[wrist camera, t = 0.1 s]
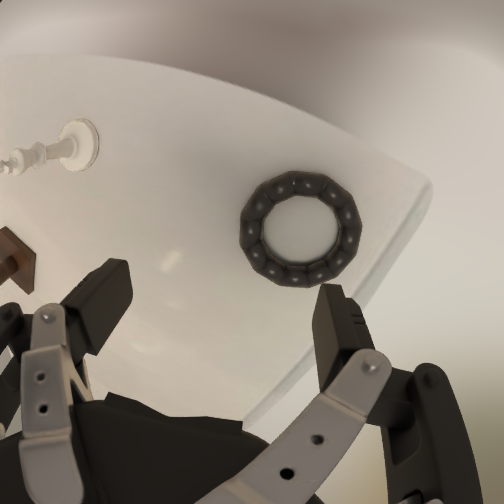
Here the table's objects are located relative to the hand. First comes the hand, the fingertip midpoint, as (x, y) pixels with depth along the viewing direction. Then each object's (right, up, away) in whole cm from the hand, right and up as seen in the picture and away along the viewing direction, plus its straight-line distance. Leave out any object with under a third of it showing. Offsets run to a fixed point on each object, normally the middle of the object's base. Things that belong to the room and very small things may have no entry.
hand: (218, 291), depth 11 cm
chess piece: (-14, +11, +9) cm, 20 cm away
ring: (+5, +3, +10) cm, 12 cm away
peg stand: (-30, +1, +16) cm, 34 cm away
